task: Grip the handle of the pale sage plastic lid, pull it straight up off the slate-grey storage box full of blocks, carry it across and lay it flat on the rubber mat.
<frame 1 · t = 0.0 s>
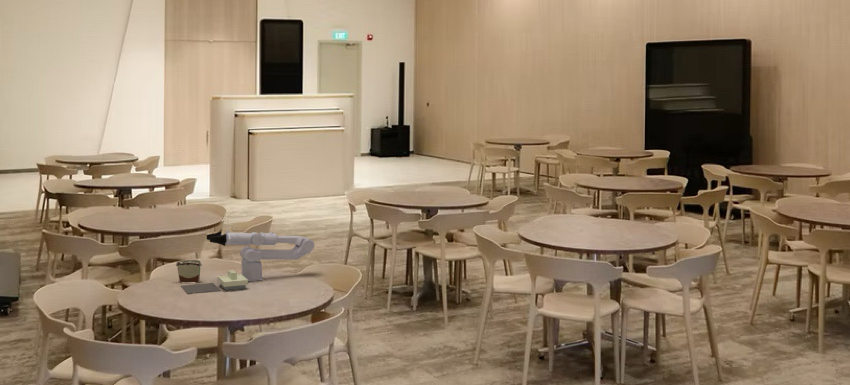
hand: (208, 238, 439), 22 cm above the table, tool horizontal, fingers open, 7 cm apart
storage box: (232, 287, 433), on the table
food container: (191, 281, 446), on the table
lid: (232, 280, 432), point 3 cm above the table, touching storage box
rubber mat: (200, 288, 430), on the table
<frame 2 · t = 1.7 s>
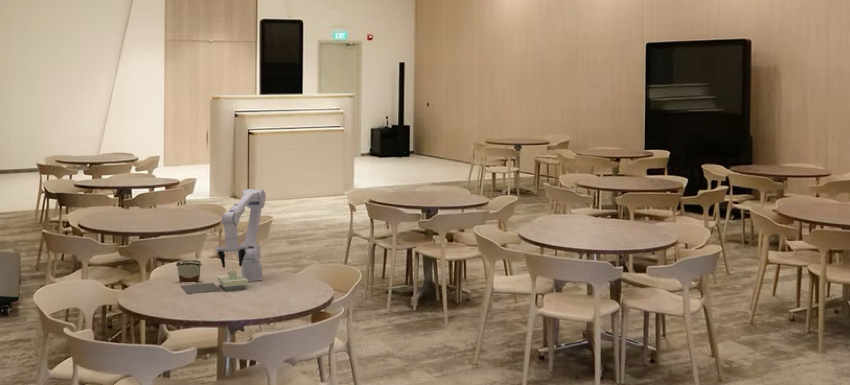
hand: (232, 266, 431), 10 cm above the table, tool pointing down, fingers open, 7 cm apart
nothing on the table moved.
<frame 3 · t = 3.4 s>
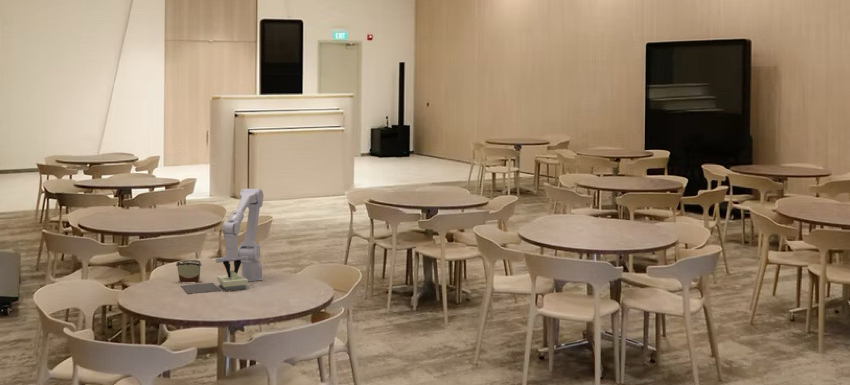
hand: (232, 276, 432), 5 cm above the table, tool pointing down, fingers closed on lid, 2 cm apart
lid: (232, 280, 432), point 3 cm above the table, touching gripper, storage box
everything else where it was.
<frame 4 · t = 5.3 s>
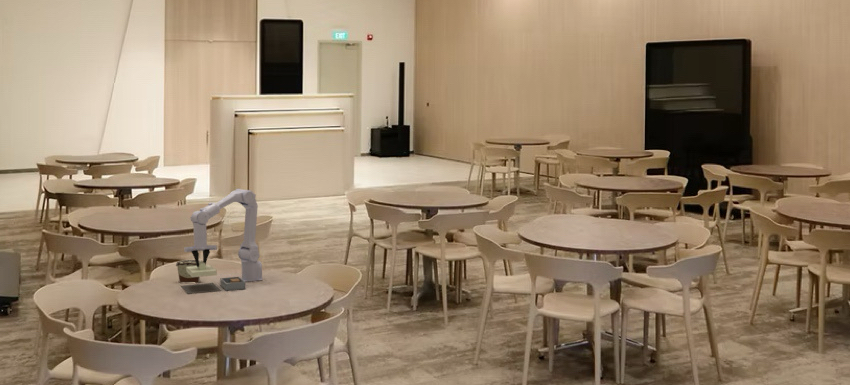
hand: (201, 266, 429), 10 cm above the table, tool pointing down, fingers closed on lid, 2 cm apart
lid: (201, 270, 430), point 8 cm above the table, touching gripper
everything else where it was.
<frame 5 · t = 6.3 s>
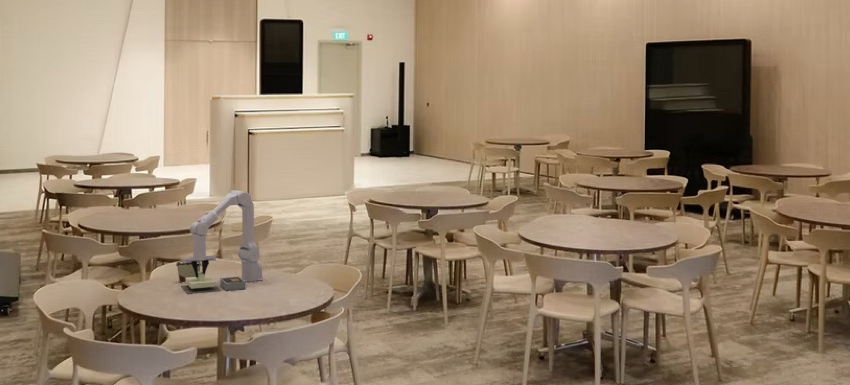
hand: (200, 277, 430), 5 cm above the table, tool pointing down, fingers closed on lid, 2 cm apart
lid: (200, 281, 430), point 3 cm above the table, touching gripper
everything else where it was.
when the fingers open (4 cm above the table, at t = 7.2 s): lid stays where it is, resting on rubber mat.
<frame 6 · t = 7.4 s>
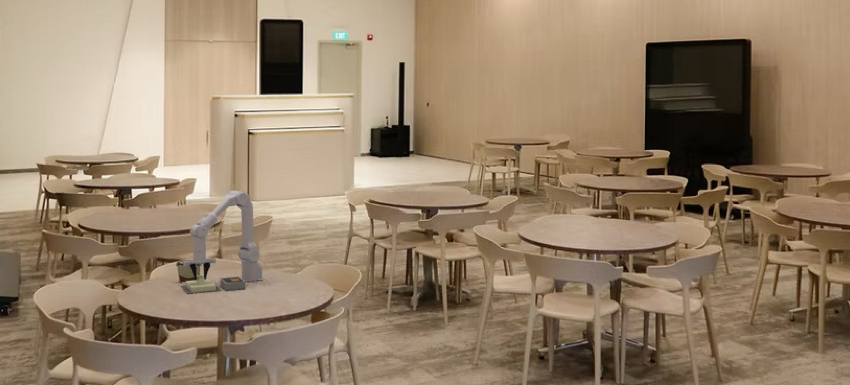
hand: (200, 279, 430), 4 cm above the table, tool pointing down, fingers open, 4 cm apart
lid: (200, 285, 430), point 1 cm above the table, touching rubber mat
everything else where it was.
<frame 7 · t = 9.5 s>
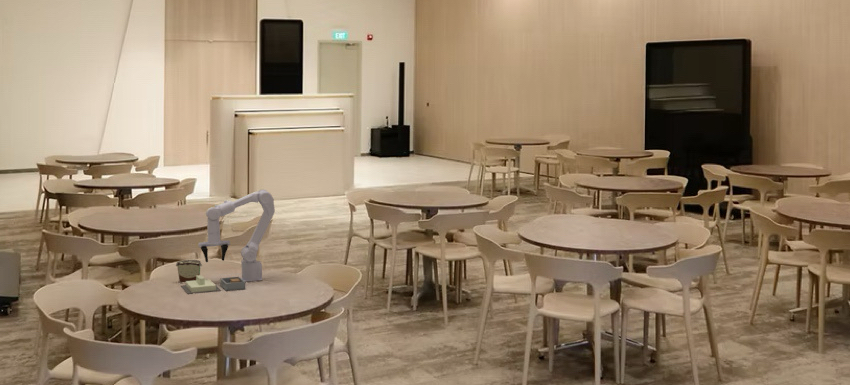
hand: (214, 261, 442), 10 cm above the table, tool pointing down, fingers open, 7 cm apart
nothing on the table moved.
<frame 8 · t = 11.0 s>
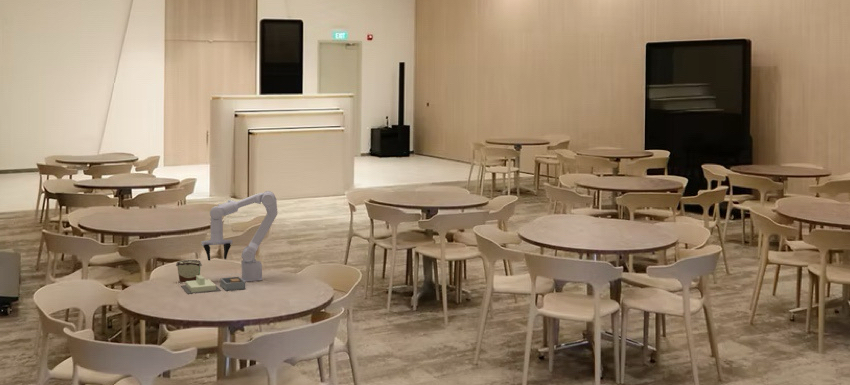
hand: (217, 259, 445), 10 cm above the table, tool pointing down, fingers open, 7 cm apart
nothing on the table moved.
at the end: lid inside the target area on the rubber mat (0.0 cm from its centre), point 1.5 cm above the rubber mat's base; lid tilted 0°; the gripper is holding nothing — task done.
